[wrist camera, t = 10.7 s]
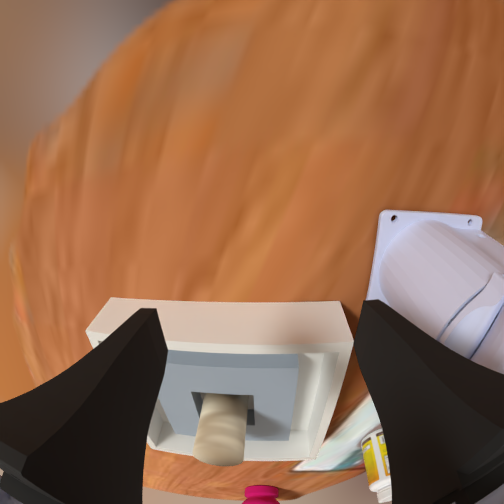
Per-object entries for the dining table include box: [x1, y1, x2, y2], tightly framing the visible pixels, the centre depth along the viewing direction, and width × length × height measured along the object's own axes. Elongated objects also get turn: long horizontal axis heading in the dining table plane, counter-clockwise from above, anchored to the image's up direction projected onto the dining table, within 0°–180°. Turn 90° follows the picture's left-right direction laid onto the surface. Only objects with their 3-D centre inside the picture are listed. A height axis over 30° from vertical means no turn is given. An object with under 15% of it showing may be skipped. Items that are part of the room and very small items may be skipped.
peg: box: [192, 393, 249, 466], centre depth 21 cm, size 4×4×7 cm
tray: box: [85, 297, 354, 461], centre depth 22 cm, size 18×18×4 cm
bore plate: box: [158, 350, 299, 441], centre depth 23 cm, size 12×12×2 cm
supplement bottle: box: [361, 428, 392, 503], centre depth 24 cm, size 6×6×10 cm
